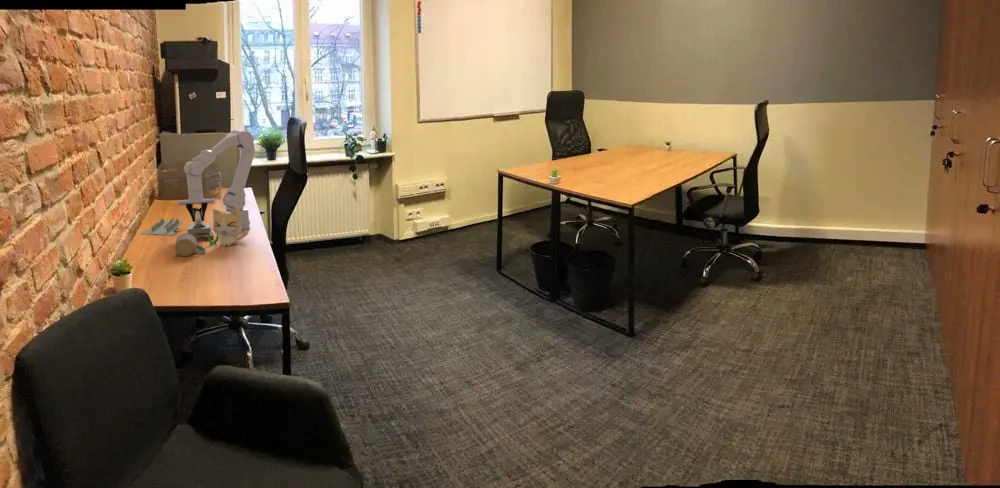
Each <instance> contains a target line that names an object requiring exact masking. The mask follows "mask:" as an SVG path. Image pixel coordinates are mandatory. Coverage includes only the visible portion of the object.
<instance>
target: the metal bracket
mask: <svg viewBox="0 0 1000 488" xmlns="http://www.w3.org/2000/svg"><path fill="white" fill-rule="evenodd" d="M183 223H184V221H182V220H181V221H180V219H175V220H174V218H172V219H171V220H165V219H164V218H161V219H160V221H159V222H156V223H154V224H153V225H152V226H151V227H150V228H151V229H150V230H146V229H145V230H143V231H142V232H141V234H140V235H146V234H148V236H151V235H153V236H165V237H172V236H174V235H176V231H175V230H176V229H178V230H179V227H180V226H181V225H182V224H183Z"/></svg>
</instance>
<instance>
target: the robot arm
mask: <svg viewBox="0 0 1000 488" xmlns="http://www.w3.org/2000/svg"><path fill="white" fill-rule="evenodd" d="M254 141H255V137H254V136H253V135H252V133H251V132H250V131H248V130H242V129H233V130H232V131H230V132H229V133H227V134H226V136H224V137H223V138H222V139H221V140H220V141H219V142H217V143H216V144H215V145H214V146H213V147H212V148H211V149H204V150H201V151H200V154H198V155H197V156H196V157H193V158H191V160H192V161H191V160H190V161H187V162H186V163H185V164H184V165H183V168H182V169H183V172H184V173H185V174H186V183H187V192H188V193H187V194H188V199H182V200H180V199H179V200H177V205H178V207H180V206H185V208H186V210H187V211H188V213H189V215H190V217H191V221H192V222H194V212H193V208H194V207H193V205H200V208H201V209H202V210H201V211H202V221H203V222H205V215H206V211H207V208H208V205H210V204H214V205H215V203H216V201H215V200H216V199H215V198H204V190H203V180H202V179H203V178H202V174H203V171H204V170H205V169H206V168H207V167H208V166H210V165H211V164H212V163H214V161H216V157H217V156H218V155H219V154H220V153H222V152H223V151H225V150H227V149H228V148H229V147H230V146H235V147H237V148H238V150H239V151H240V153H241V154H240V157H239V161H238V163H237V166H236V169H235V173H234V176H233V181H232V184H231V186H230V187H229V188H227V191H226V193H225V194H224V195H223V197H222V203H223V205H224V206H225V212H232V211H233V210H235V209H237V208H239V209H240V217H241V220H240V221H241V231H243V230H250V225H251V221H250V219H249V218H250V217H249V209H248V208H245V205H246V193H245V187H246V184H247V180H248V177H249V173H250V171H251V167H252V164H253V161H254V157H255V153H256V149H255V143H254ZM194 223H195V222H194Z"/></svg>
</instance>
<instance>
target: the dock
mask: <svg viewBox="0 0 1000 488" xmlns="http://www.w3.org/2000/svg"><path fill="white" fill-rule="evenodd" d="M186 230H187V234H191V235H193V236H194V237H195V233H203V232H212V225H211V224H210V223H208V224H203V228H195V224H192V225H187V229H186Z"/></svg>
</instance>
